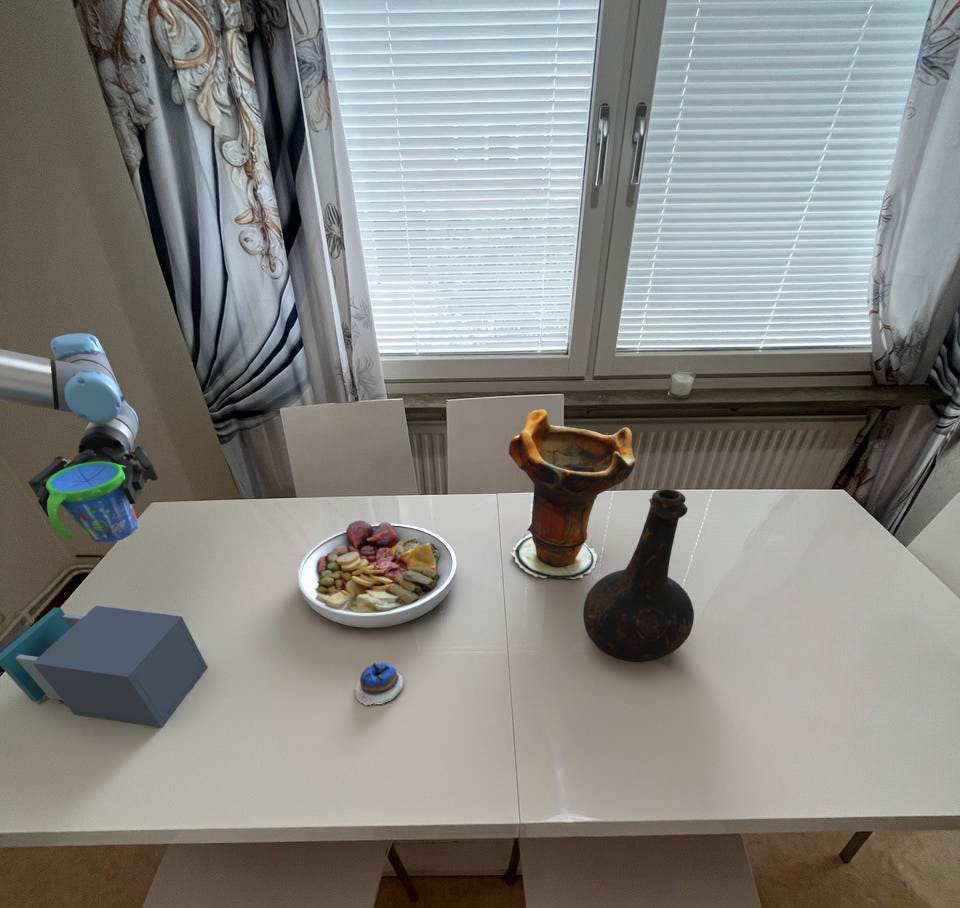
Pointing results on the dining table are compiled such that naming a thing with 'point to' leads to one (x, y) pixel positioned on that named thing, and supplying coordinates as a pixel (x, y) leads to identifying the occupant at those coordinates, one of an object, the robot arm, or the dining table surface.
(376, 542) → the bowl
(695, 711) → the dining table surface
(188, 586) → the dining table surface
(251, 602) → the dining table surface
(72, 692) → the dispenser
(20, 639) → the drawer
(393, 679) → the dessert
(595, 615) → the glass bottle
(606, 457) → the decorative vase
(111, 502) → the snack cup
